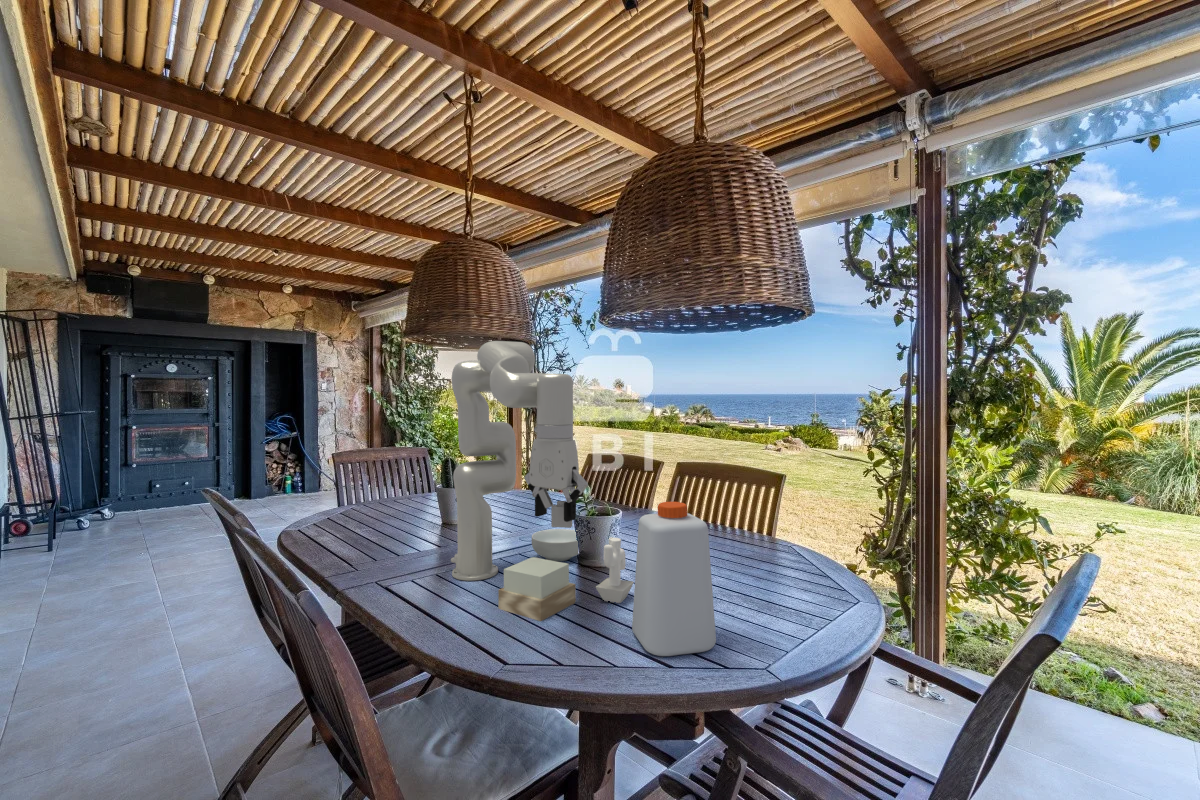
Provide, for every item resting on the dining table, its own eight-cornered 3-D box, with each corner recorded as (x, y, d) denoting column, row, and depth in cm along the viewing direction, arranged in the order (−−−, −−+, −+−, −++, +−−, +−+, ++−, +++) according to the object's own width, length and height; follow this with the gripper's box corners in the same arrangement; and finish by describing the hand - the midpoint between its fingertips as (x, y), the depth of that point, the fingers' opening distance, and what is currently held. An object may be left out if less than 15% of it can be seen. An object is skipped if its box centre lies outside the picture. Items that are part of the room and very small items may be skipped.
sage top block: (503, 590, 130) (503, 569, 130) (532, 576, 140) (532, 557, 139) (541, 599, 124) (541, 577, 124) (568, 584, 134) (568, 563, 134)
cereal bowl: (578, 567, 161) (578, 543, 160) (524, 564, 164) (523, 540, 164) (591, 551, 177) (590, 529, 177) (541, 548, 180) (541, 527, 180)
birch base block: (498, 610, 131) (498, 589, 130) (534, 593, 141) (534, 574, 141) (540, 623, 123) (540, 601, 123) (575, 604, 134) (575, 584, 134)
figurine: (635, 594, 139) (635, 535, 139) (621, 608, 130) (621, 544, 130) (609, 590, 142) (608, 532, 142) (593, 603, 133) (593, 541, 133)
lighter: (572, 525, 116) (572, 487, 116) (570, 527, 114) (570, 489, 114) (539, 524, 117) (539, 486, 117) (537, 526, 116) (537, 488, 115)
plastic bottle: (649, 661, 105) (649, 514, 104) (627, 628, 119) (626, 499, 119) (723, 652, 108) (723, 509, 108) (692, 621, 123) (692, 495, 122)
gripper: (511, 432, 117) (512, 515, 118) (577, 436, 107) (577, 527, 108) (535, 429, 123) (535, 509, 124) (599, 433, 113) (599, 520, 114)
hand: (555, 517), depth 116 cm, fingers closed on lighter, 7 cm apart
